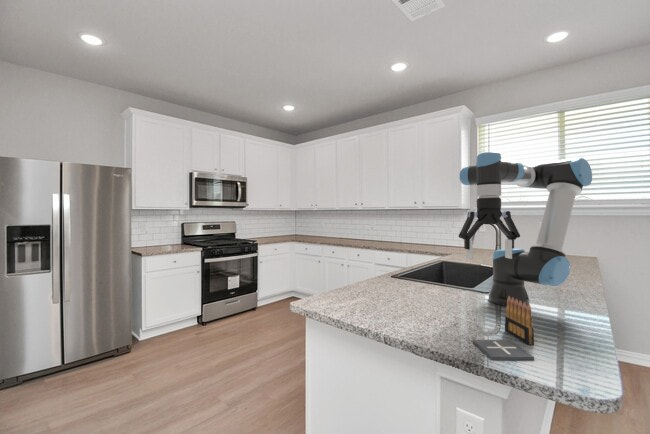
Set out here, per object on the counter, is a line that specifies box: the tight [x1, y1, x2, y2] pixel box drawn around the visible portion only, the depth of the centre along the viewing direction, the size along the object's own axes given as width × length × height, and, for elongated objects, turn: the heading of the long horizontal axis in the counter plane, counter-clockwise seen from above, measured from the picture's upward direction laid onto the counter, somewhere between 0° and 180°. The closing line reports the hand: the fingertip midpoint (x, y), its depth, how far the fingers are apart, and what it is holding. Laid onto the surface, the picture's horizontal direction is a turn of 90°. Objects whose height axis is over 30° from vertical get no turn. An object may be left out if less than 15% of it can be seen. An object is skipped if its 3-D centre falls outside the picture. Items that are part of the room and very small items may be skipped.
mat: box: [472, 339, 535, 361], centre depth 86 cm, size 11×11×1 cm
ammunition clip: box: [504, 296, 535, 346], centre depth 95 cm, size 11×2×12 cm, turn 4°
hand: (489, 258), depth 106 cm, fingers open, 13 cm apart
